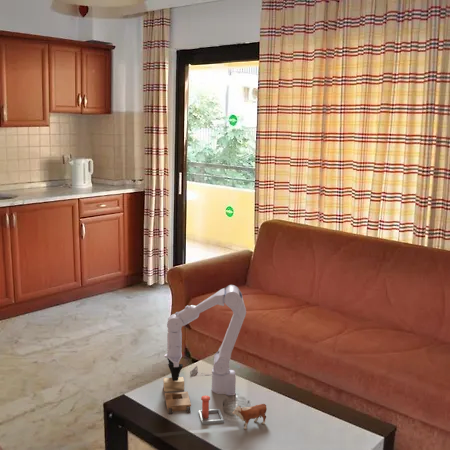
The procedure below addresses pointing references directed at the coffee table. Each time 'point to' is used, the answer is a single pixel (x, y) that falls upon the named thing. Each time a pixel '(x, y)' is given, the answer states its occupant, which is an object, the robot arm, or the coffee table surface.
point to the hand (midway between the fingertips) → (174, 375)
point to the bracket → (196, 372)
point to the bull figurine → (251, 413)
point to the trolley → (178, 401)
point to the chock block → (173, 384)
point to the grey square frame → (211, 420)
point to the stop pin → (205, 406)
